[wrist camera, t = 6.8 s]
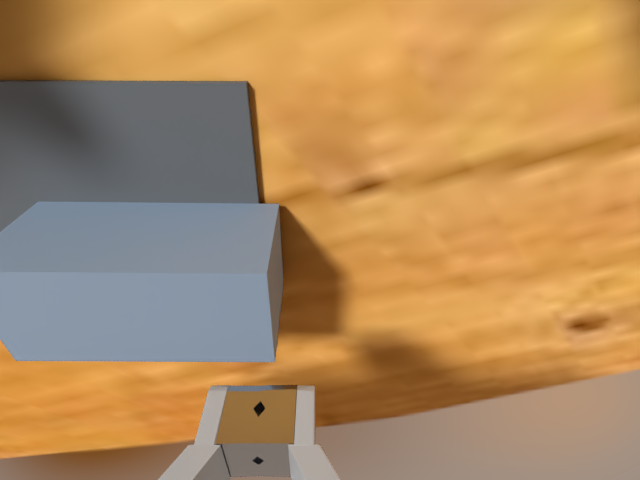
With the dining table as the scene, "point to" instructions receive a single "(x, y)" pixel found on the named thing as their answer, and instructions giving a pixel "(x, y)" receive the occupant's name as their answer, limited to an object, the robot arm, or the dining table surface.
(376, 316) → the dining table surface
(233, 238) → the block
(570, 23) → the dining table surface
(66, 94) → the mat
